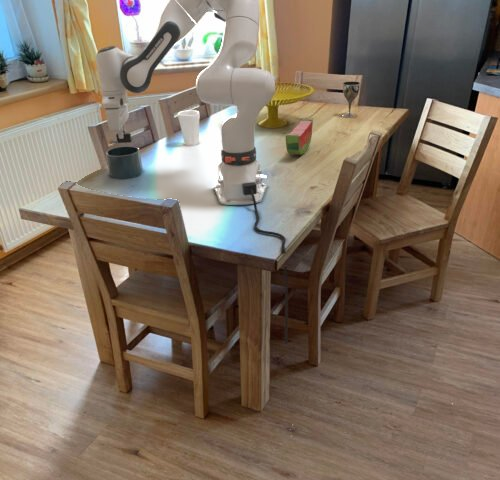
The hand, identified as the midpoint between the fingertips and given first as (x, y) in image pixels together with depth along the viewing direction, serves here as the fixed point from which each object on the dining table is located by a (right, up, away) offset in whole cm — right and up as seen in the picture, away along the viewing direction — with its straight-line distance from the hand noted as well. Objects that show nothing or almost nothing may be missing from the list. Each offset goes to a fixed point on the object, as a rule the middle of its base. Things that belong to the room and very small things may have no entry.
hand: (122, 136), depth 195 cm
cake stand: (+60, +29, +58) cm, 88 cm away
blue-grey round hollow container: (0, -11, +8) cm, 14 cm away
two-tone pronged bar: (-1, -2, +1) cm, 2 cm away
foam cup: (+22, +11, +37) cm, 44 cm away
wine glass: (+98, +35, +65) cm, 123 cm away
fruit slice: (+69, +2, +22) cm, 73 cm away
